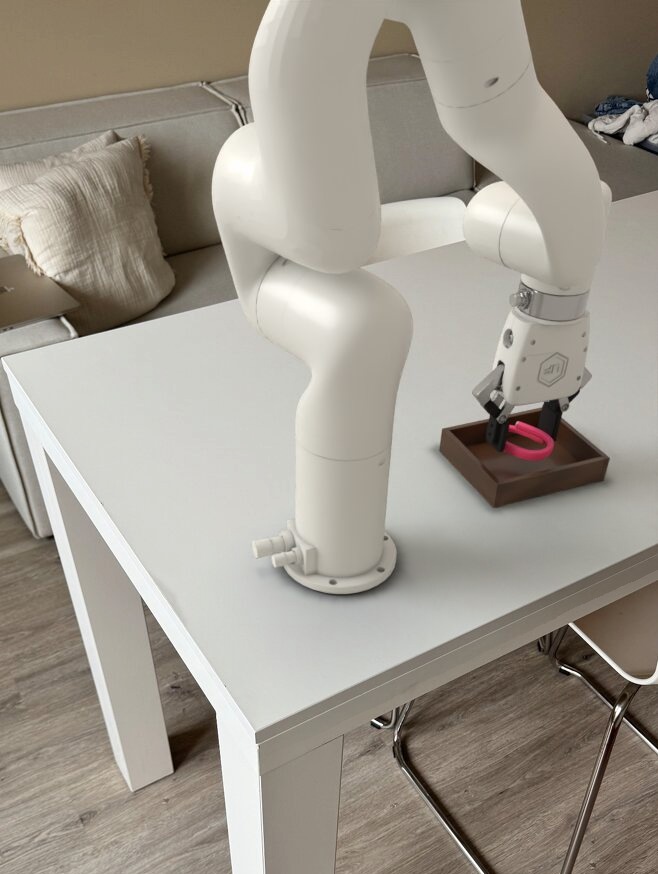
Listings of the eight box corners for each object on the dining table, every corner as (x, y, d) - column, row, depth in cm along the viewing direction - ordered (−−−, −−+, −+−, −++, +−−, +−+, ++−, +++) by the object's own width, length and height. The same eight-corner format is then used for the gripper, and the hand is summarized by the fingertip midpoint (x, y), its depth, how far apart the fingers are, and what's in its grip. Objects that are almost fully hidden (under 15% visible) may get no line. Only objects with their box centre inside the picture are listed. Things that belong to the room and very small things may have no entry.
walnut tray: (493, 508, 105) (497, 485, 103) (438, 450, 114) (441, 428, 112) (603, 480, 110) (610, 457, 108) (543, 427, 119) (548, 405, 117)
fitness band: (560, 448, 109) (563, 437, 108) (537, 467, 106) (540, 456, 105) (503, 425, 113) (505, 414, 112) (479, 442, 110) (481, 431, 109)
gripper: (502, 322, 92) (475, 469, 104) (637, 303, 98) (596, 444, 109) (466, 295, 97) (444, 438, 109) (596, 278, 103) (561, 416, 114)
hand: (520, 440), depth 109 cm, fingers closed on fitness band, 6 cm apart
